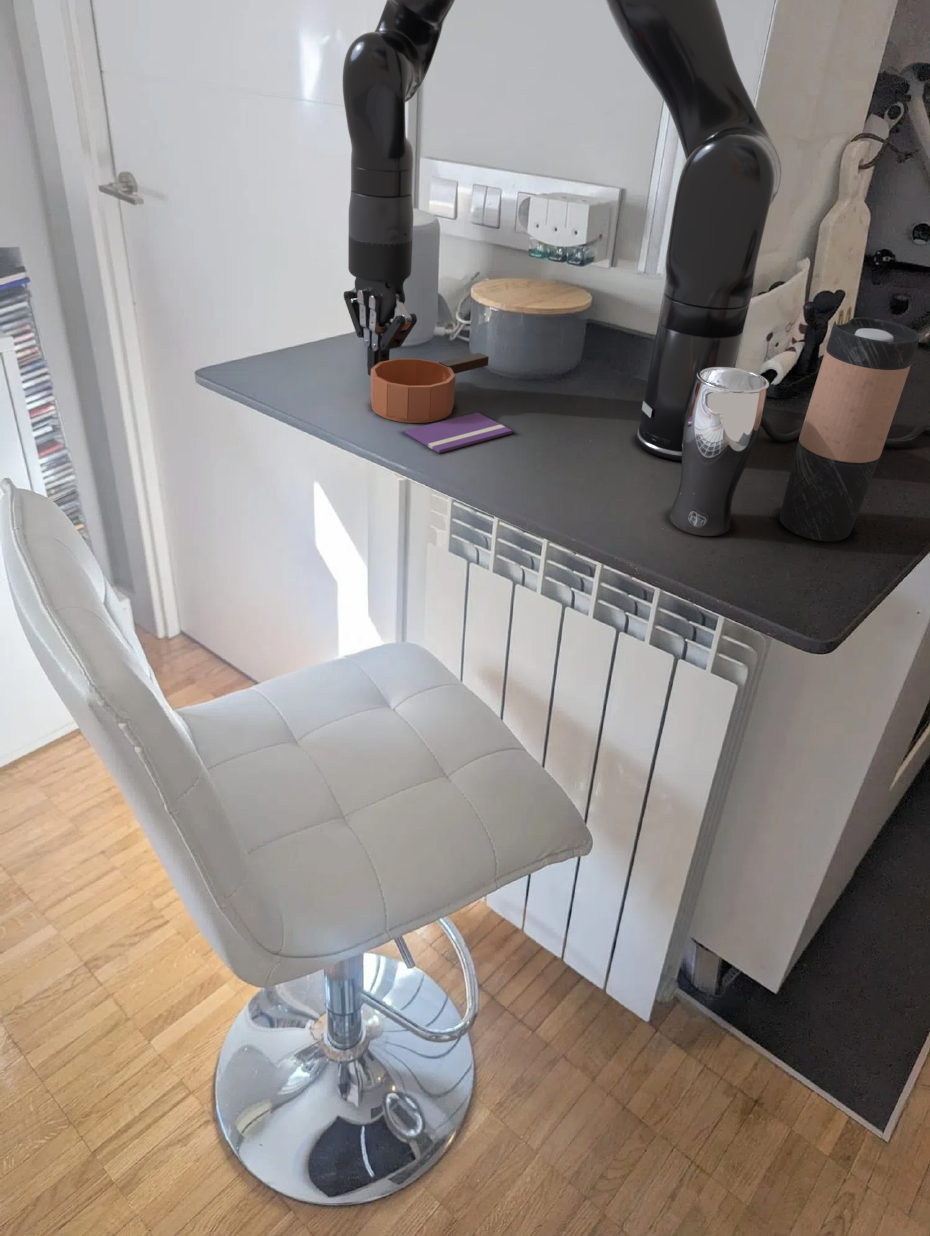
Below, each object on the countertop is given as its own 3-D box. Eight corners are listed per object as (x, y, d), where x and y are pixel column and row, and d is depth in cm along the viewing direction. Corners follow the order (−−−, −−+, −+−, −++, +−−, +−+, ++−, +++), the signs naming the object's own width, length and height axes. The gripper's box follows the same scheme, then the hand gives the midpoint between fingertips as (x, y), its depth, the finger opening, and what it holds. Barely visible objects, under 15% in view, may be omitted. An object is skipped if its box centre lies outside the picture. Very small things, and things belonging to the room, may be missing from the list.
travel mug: (858, 548, 90) (930, 347, 78) (779, 536, 91) (838, 336, 79) (847, 513, 96) (912, 322, 84) (773, 502, 97) (827, 312, 86)
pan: (456, 377, 123) (458, 343, 120) (507, 400, 117) (511, 365, 114) (355, 402, 113) (355, 366, 110) (405, 429, 107) (406, 392, 104)
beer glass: (682, 499, 96) (712, 360, 88) (744, 521, 93) (782, 378, 84) (652, 523, 91) (682, 377, 83) (717, 546, 88) (755, 398, 80)
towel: (477, 415, 112) (477, 412, 112) (512, 433, 108) (512, 430, 108) (405, 433, 106) (405, 430, 106) (439, 453, 102) (439, 450, 102)
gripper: (440, 243, 104) (432, 388, 114) (375, 218, 113) (372, 356, 122) (386, 249, 100) (383, 399, 110) (323, 223, 108) (325, 365, 118)
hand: (377, 376), depth 116 cm, fingers closed
